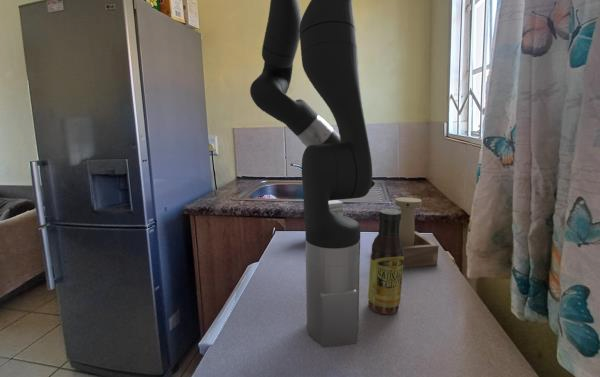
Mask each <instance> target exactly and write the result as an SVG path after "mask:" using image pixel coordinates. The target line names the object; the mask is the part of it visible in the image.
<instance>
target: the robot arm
mask: <svg viewBox="0 0 600 377" xmlns="http://www.w3.org/2000/svg"><path fill="white" fill-rule="evenodd" d="M353 3H354V2H353V0H310V2H309V3H308V5H307V7H306V8H305V10H304V13H303V15H302V12H301V8H300V7H301V6H300V4H299V0H270V3H269V12H268V18H267V24H266V29H265V32H264V38H263V43H262V47H261V56H262V59H263V61H264V64H263V68H262V70H261V71H262V72H261V74H259V76H257V77H256V79H255V80H253V82H252V83H251V85H250V88H249V92H250V93H249V94H250V96H251V100H252V101H253V102H254V105H256V106H257V108H259V109H260V110H261V111H262V112H264V113H265V114H267V115H269V116H270V117H272V118H274V119H276V120H277V121H279V122H280V123H283V124H284V125H285V127H287V128H288V129H289V130H290V131H291V132H292V133H293V134H294V135H295V136H296V137H297V138H298V139H299V140H300V141H301V143H302V145H303V146H305V149H304V151H303V154H302V157H301V158H302V159H301V181H302V194H303V195H302V196H303V218H304V228H305V290H306V291H305V292H306V293H305V296H306V297H305V298H306V299H305V300H306V304H305V305H306V330H307V331H306V332H307V334H308V335H309V337H310V338H311V339H313V340H314V341H315V342H318V343H319V344H320V347H322V348H325V347H332V346H340V345H349V344H356V343H357V342H358V333H359V323H360V322H359V320H360V319H359V318H360V315H359V314H360V313H359V312H360V311H359V310H360V304H359V303H360V270H361V269H360V265H361V263H360V261H361V258H360V256H361V224H360V223H359V222H358V221H357V220H355V219H354V218H352V217H349V216H346V215H344V214H343V215H339V214H335V213H333V212H331V211H330V210H329V203H328V201H331V200H338V201H341V200H351V199H360V198H363V197H366V196H367V195H368V193H369V192H370V190H371V189H372V188H373V187H374V186H375V181H374V180H373V163H372V162H373V161H372V155H371V154H372V153H371V148H370V143H369V137H368V131H367V126H366V122H365V115H364V109H363V102H362V94H361V85H360V74H359V72H360V71H359V70H360V69H359V57H358V56H359V54H358V43H357V32H356V31H357V30H356V25H355V15H354V6H353V5H354V4H353ZM299 43H300V44H299ZM299 45H300V56H301V65H302V68H303V71H304V74H305V75H306V77H307V79H308V80H309V82H310V83H311V85H312V87H313V88H314V89H315V90H316V92H317V93H318V95H319V96H320V98H322V100H323V101H324V102H325V104H326V106H327V107H328V108H329V110H330V112H331V114H332V116H333V117H334V118H333V119H334V120H335V122H336V126H337V130H338V132H337V131H336V130H335V129H334V128H333V126H331V124H329V123H328V122H327V121H326V119H324V118H323V117H322V116H320V115H319V114H318V113H317V112H316V111H315V110H314V108H312V107H311V106H310V105H309V104H308V103H307V102H306V101H305V100H304V99H301V98H299V99H296V100H294V99H292V98H291V97H290V96H288V95H287V92H288V90H289V87H290V85H291V82H292V75H293V69H294V68H293V67H294V65H293V64H294V60H295V57H296V54H297V51H298V50H297V49H298V47H299Z"/></svg>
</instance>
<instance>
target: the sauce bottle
mask: <svg viewBox="0 0 600 377" xmlns="http://www.w3.org/2000/svg"><path fill="white" fill-rule="evenodd" d="M378 218H379V226H378V228H379V229H378V234H377V235H376V236H375V238H374V239H373V242H372V243H371V255H370V262H369V276H368V288H367V289H368V291H367V299H368V307H369V308H370V310H371V311H372V312H375V313H378V314H382V315H391V314H394V313H396V312H398V311H399V308H400V307H399V306H400V304H401V295H402V283H403V282H402V281H403V271H404V267H403V262H404V253H403V244H402V241H401V239H400V236H399V226H400V220H401V210H397V209H391V208H382V209H380V210H379V212H378Z"/></svg>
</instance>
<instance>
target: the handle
mask: <svg viewBox="0 0 600 377" xmlns="http://www.w3.org/2000/svg"><path fill="white" fill-rule="evenodd" d="M394 202H395V205H396V206H397V207H399V208H400V212H401V220H400V224H399V236H400V239H401V241H402V244H403V247H406V246H413V245H414V234H415V231H416V230H415V210H416V209H417V208H420V207H421V206H422V199H421V198H415V197H402V196H401V197H395V200H394Z"/></svg>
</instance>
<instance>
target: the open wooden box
mask: <svg viewBox="0 0 600 377" xmlns="http://www.w3.org/2000/svg"><path fill="white" fill-rule="evenodd" d="M403 253H404V262H403V268H409V267H410V268H411V267H412V268H414V267H420V266H421V267H422V266H431V265H438V258H439V256H438V255H439V245H438V244H437V243H436V242H434V241H433V240H430V239H429V238H427V237H426V236H424V235H423V234H421V233H419V232H418V231H416V230H415V234H414V245H413V246H406V247H403Z"/></svg>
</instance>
